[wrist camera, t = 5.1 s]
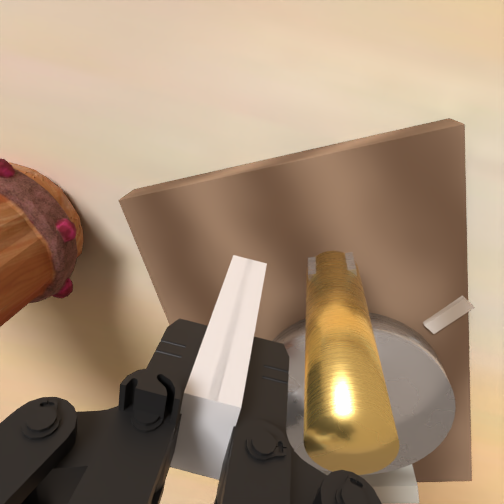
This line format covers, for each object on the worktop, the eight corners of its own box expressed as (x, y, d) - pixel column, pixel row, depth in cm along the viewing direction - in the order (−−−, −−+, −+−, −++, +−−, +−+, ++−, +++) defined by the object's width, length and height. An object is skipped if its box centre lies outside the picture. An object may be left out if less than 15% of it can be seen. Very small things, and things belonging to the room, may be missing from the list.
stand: (240, 462, 32) (228, 527, 27) (134, 189, 22) (89, 220, 18) (464, 454, 28) (493, 528, 23) (453, 117, 18) (500, 134, 14)
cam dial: (443, 445, 24) (532, 700, 15) (274, 447, 27) (254, 669, 17) (445, 218, 18) (607, 403, 8) (223, 247, 20) (141, 418, 10)
